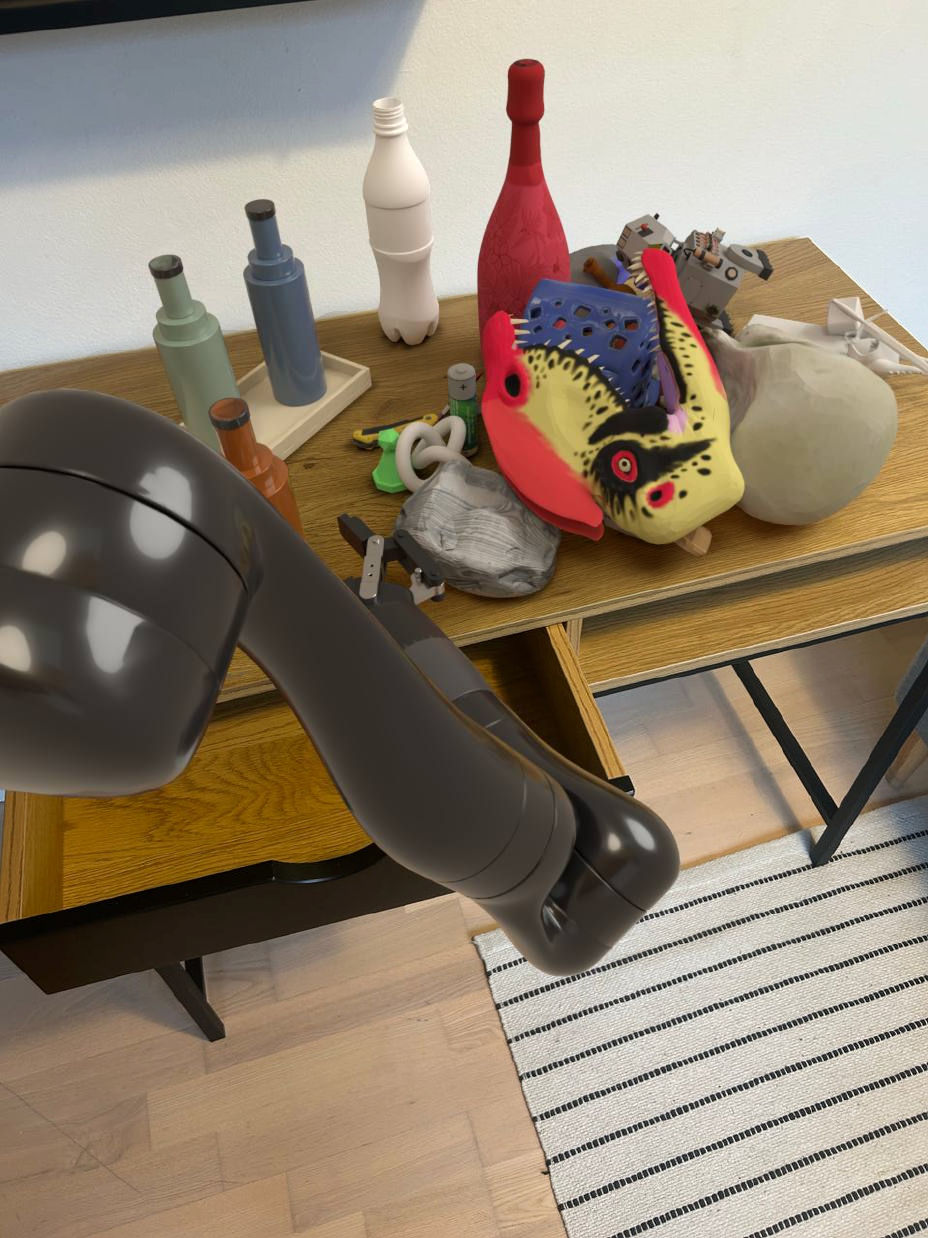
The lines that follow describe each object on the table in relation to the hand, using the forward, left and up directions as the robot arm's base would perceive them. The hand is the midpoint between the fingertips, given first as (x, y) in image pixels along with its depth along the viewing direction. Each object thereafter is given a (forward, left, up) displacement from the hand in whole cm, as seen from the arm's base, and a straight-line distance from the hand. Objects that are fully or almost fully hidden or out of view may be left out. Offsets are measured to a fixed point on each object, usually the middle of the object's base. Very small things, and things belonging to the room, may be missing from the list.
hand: (293, 547), depth 64 cm
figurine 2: (+41, +43, -8) cm, 60 cm away
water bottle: (+3, +47, -11) cm, 48 cm away
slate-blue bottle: (-8, +34, -10) cm, 37 cm away
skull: (+30, +20, +2) cm, 36 cm away
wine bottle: (+17, +41, -11) cm, 46 cm away
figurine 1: (+42, +49, -7) cm, 65 cm away
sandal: (+29, +15, -6) cm, 33 cm away
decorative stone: (+15, +8, -3) cm, 18 cm away
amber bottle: (-4, +4, -11) cm, 12 cm away
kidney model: (+25, +43, -10) cm, 51 cm away
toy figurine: (+25, +43, -8) cm, 50 cm away
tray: (-14, +24, -11) cm, 30 cm away
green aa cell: (+9, +30, -10) cm, 33 cm away
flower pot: (+20, +23, -6) cm, 31 cm away
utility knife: (+7, +29, -11) cm, 32 cm away
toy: (+33, +19, +3) cm, 38 cm away
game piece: (+4, +20, -11) cm, 24 cm away
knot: (+9, +20, -11) cm, 24 cm away
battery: (+11, +25, -11) cm, 30 cm away
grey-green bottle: (-14, +24, -10) cm, 29 cm away
